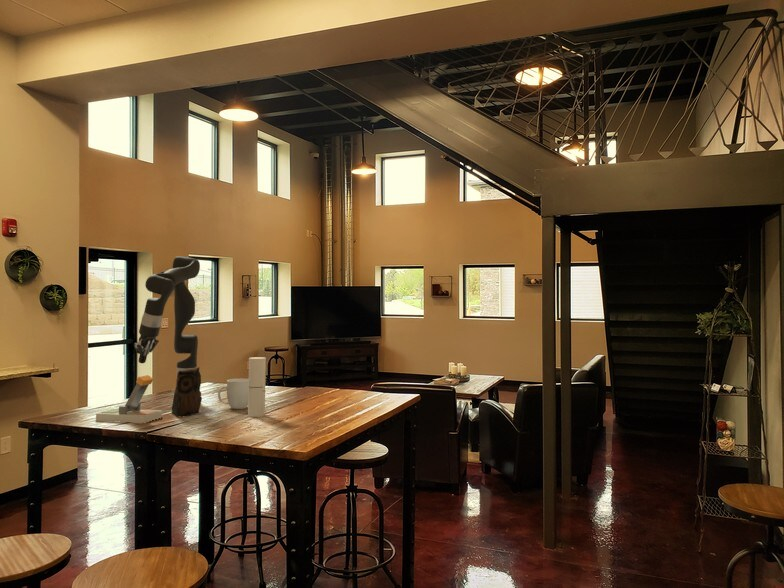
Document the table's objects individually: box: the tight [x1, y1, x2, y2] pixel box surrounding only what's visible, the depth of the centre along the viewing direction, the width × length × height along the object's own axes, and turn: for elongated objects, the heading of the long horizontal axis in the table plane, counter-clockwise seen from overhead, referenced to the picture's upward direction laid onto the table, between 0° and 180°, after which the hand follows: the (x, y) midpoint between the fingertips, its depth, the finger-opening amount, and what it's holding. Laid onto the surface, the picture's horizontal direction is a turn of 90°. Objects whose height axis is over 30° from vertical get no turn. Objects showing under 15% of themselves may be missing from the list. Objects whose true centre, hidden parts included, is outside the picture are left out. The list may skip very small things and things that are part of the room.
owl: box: [171, 366, 203, 418], centre depth 240 cm, size 13×13×20 cm
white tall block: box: [247, 356, 267, 418], centre depth 239 cm, size 7×7×25 cm
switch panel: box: [95, 402, 163, 424], centre depth 227 cm, size 22×12×6 cm, turn 80°
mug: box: [217, 378, 249, 410], centre depth 255 cm, size 15×11×13 cm
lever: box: [124, 375, 154, 412], centre depth 226 cm, size 3×6×16 cm, turn 169°
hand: (141, 362), depth 226 cm, fingers closed
